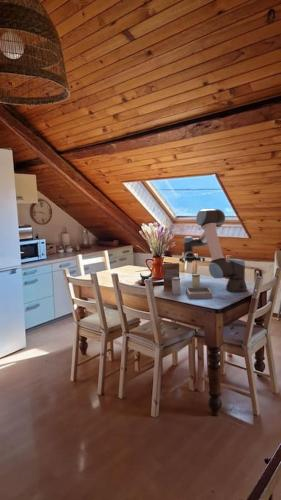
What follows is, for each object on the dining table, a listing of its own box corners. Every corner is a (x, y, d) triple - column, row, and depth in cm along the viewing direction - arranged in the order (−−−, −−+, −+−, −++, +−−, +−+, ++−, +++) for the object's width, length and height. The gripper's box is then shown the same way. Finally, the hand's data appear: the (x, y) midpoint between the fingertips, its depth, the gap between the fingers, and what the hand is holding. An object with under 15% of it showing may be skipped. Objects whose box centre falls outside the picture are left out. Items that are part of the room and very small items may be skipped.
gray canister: (181, 293, 255) (181, 277, 253) (178, 295, 250) (177, 279, 248) (174, 292, 258) (173, 277, 256) (170, 295, 253) (170, 278, 251)
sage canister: (201, 289, 265) (200, 274, 263) (198, 291, 260) (198, 275, 258) (193, 288, 268) (193, 273, 266) (190, 290, 263) (190, 275, 261)
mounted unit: (163, 288, 272) (163, 263, 269) (179, 287, 272) (178, 262, 269) (164, 290, 264) (163, 265, 261) (180, 290, 264) (179, 264, 261)
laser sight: (144, 290, 270) (144, 277, 268) (138, 283, 291) (138, 271, 290) (157, 288, 272) (156, 276, 270) (149, 282, 293) (149, 270, 292)
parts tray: (186, 292, 259) (186, 287, 258) (207, 291, 259) (207, 287, 258) (189, 298, 243) (189, 293, 242) (212, 297, 243) (212, 292, 242)
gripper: (204, 260, 292) (209, 266, 271) (175, 261, 293) (177, 266, 272) (204, 251, 291) (209, 256, 270) (174, 252, 291) (177, 257, 270)
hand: (193, 261), depth 271 cm, fingers open, 13 cm apart
